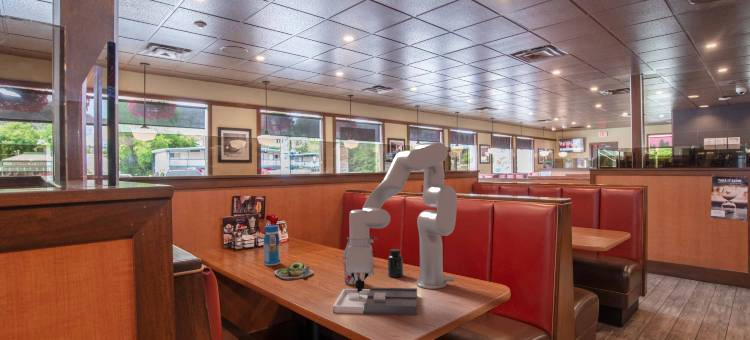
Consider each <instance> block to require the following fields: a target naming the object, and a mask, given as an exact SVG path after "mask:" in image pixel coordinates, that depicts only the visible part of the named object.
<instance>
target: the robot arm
mask: <svg viewBox="0 0 750 340" xmlns="http://www.w3.org/2000/svg"><path fill="white" fill-rule="evenodd" d="M448 155H449V154H448V148H447V145H445V144H444V143H442V142H439V141H437V142H436V141H434V142H422V143H419V144H417V145H415V147H414V148H413V149H406V150H400V151H398V152H397V153H396V154H395V156H394V158H393V160H392V162H391V164H390V165H389V168H388V170H387V171H386V173H385V175H384V177H383V179H382V181H381V182H380V183H379V184H378V185H377V186H376V188H375V189H374V190H373V191H372V192H371V193H370V194H369V195H368V197H367V199H366V200H365V202H364V205H362V209H352V210H351V211H349V214H348V215H349V217H348V219H349V220H348V221H349V229H348V230H349V237H350V245H348V249H347V259H346V275H350V276H352V277H353V278H354V279H355V281H356V284H355V289H357V291H361V292H362V290H363V289H365V280H366V279H367V278H368V277H371V276H374V274H375V272H374V271H375V270H374V266H375V265H374V264H375V262H374V252H373V246H372V245H371V244H373V243H374V238H373V239H370V238H371V237H370V229H384V228H386V227H387V226H388V225H389V224H390V222H391V215H390V212H388V211H387V210H385V209H383V208H382V207H383V205H384V203H386V202H387V200H389V199H390V198H393V197H394V196H396V195H398V194H399V193H401V192H402V191H403V188H404V187H405V184H406V182H407V181H408V178H409V177H410V174H411V172H419V171H423V186H422V187H423V189H422V202H423V203H424V205H425V206H428V207H431V208H436V210H434V209H425V210H423V211H421V212H420V213H419V215H418V216H417V219H416V220H417V221H416V222H417V223H416V224H417V229H418V236H419V279H417V280H416V285H417V287H420V288H423V289H429V290H433V289H434V290H437V289H443V288H446V287H447V286H448V285H447V282H455V277H454V276H451V275H444V271H443V270H444V268H443V267H444V266H443V263H444V262H443V257H444V256H443V239H442V236H443V237H444V236H446V237H447V236H449V235H451V234H452V233H453V231H454V230H455V227H456V222H457V221H456V220H457V207H458V195H457V192H456V190H455V189H454V188H453V187H452V186H450V185H447V184H445V171H444V166H443V164H442V163H443V162H444V161H446V159H447V157H448ZM358 273H360V274H361V275H360V278H359V274H358Z"/></svg>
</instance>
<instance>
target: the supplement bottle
mask: <svg viewBox="0 0 750 340" xmlns="http://www.w3.org/2000/svg"><path fill="white" fill-rule="evenodd" d="M403 261H404V260H403V256H402V255H401V249H399V248H392V249H389V256H388V257H387V271H388V277H390V278H395V279H399V278H402V277H403V275H404V264H403V263H404V262H403Z"/></svg>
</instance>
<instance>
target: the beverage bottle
mask: <svg viewBox="0 0 750 340" xmlns="http://www.w3.org/2000/svg"><path fill="white" fill-rule="evenodd" d="M278 232H279V226H278V225H277V224H268V225H265V226H264V233H265V234H264V236H263V243H262V245H263V265H264V266H276V265H277V266H278V265H279V264H280V263H281V256H280V255H281V253H280V249H281V246H280V245H281V242H280V235H279V234H278Z"/></svg>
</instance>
